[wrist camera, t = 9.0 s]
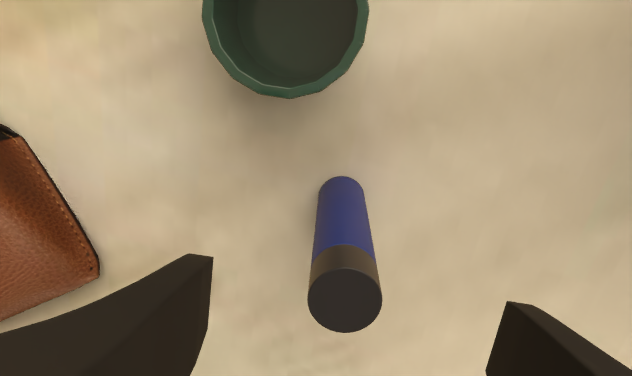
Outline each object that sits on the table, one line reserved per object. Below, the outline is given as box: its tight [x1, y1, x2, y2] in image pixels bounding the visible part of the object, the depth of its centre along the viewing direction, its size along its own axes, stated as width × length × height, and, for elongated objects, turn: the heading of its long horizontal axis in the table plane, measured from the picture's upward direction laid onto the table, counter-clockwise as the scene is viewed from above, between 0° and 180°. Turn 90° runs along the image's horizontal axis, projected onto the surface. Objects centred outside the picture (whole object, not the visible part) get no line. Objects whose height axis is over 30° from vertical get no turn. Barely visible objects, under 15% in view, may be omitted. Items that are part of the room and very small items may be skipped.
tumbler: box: [202, 0, 369, 99], centre depth 16 cm, size 5×5×4 cm
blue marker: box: [307, 176, 382, 333], centre depth 17 cm, size 2×2×8 cm
